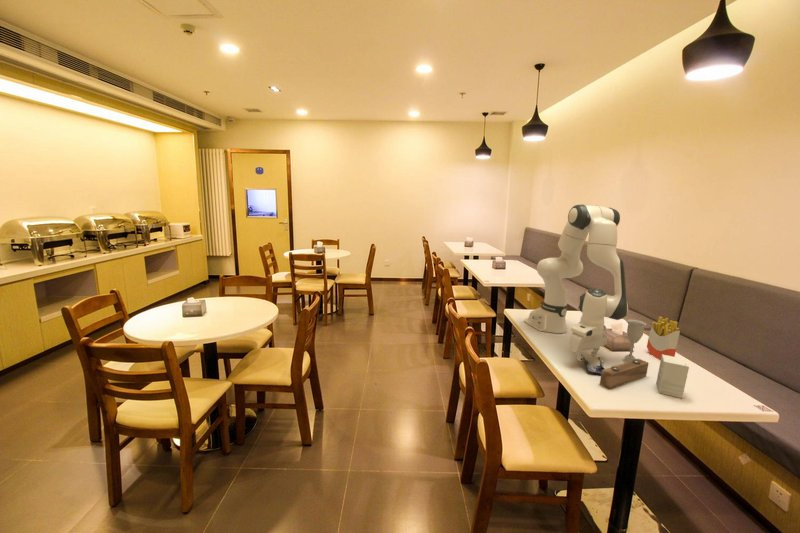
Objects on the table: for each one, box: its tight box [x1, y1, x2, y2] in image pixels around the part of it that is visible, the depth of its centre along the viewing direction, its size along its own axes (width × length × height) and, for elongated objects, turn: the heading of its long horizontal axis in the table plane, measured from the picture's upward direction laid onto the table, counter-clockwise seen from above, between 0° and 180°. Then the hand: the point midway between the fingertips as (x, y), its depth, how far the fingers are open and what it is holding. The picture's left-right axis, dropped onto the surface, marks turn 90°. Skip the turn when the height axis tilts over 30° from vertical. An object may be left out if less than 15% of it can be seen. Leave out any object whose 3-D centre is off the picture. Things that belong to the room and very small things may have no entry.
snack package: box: [581, 353, 606, 376], centre depth 146 cm, size 12×6×12 cm
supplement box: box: [655, 354, 690, 399], centre depth 131 cm, size 7×7×13 cm
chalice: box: [622, 319, 647, 363], centre depth 154 cm, size 7×7×18 cm
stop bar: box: [599, 358, 650, 390], centre depth 138 cm, size 4×24×7 cm, turn 118°
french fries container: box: [646, 316, 681, 361], centre depth 160 cm, size 5×11×18 cm, turn 5°
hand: (586, 357), depth 152 cm, fingers open, 8 cm apart
